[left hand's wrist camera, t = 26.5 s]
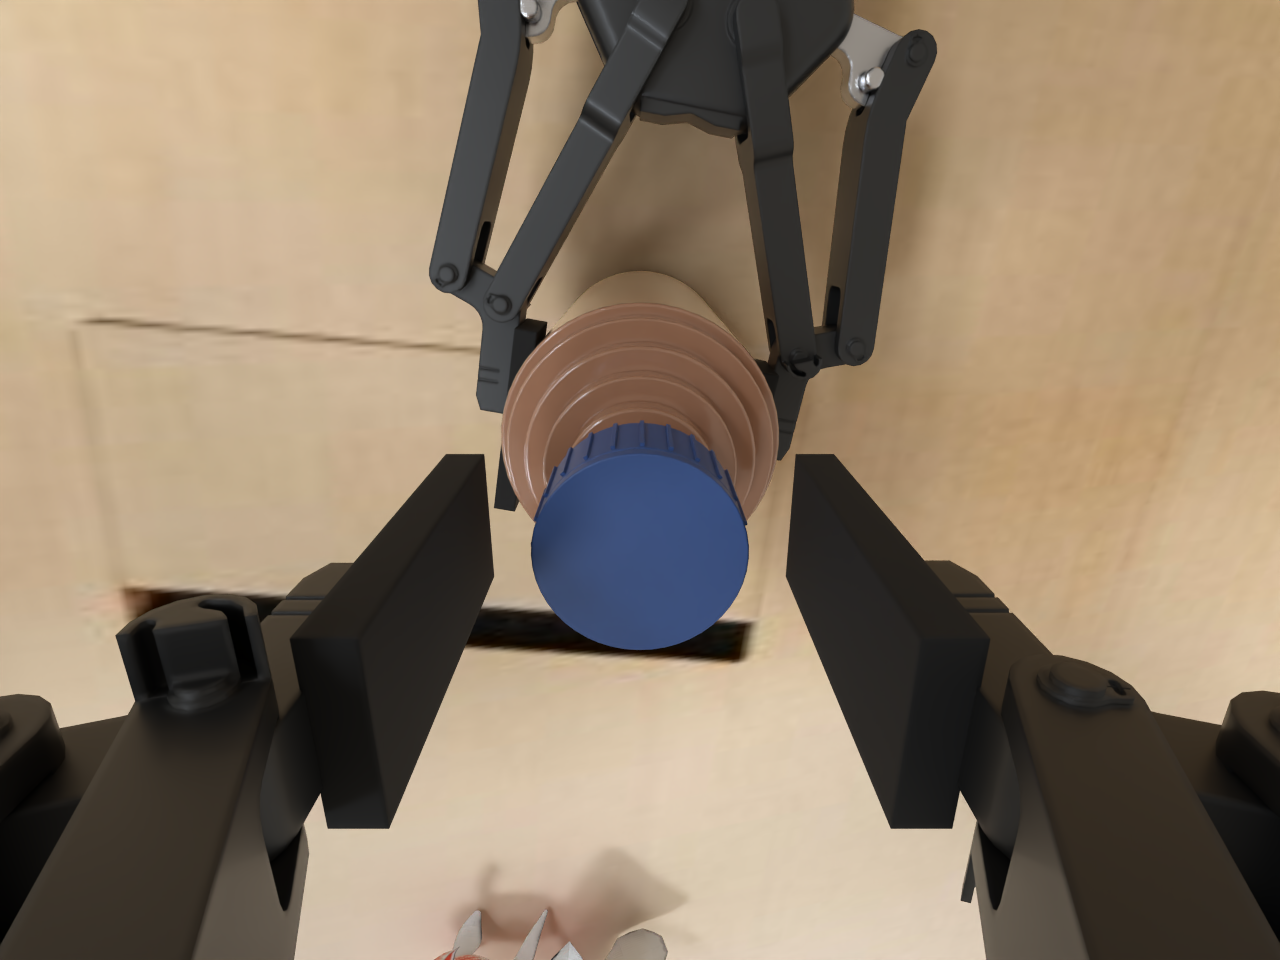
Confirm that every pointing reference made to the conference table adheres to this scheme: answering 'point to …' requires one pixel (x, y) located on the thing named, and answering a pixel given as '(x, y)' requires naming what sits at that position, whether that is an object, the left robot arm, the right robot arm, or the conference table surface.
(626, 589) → the cap
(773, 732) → the conference table surface
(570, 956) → the fish
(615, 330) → the bottle
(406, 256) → the conference table surface
